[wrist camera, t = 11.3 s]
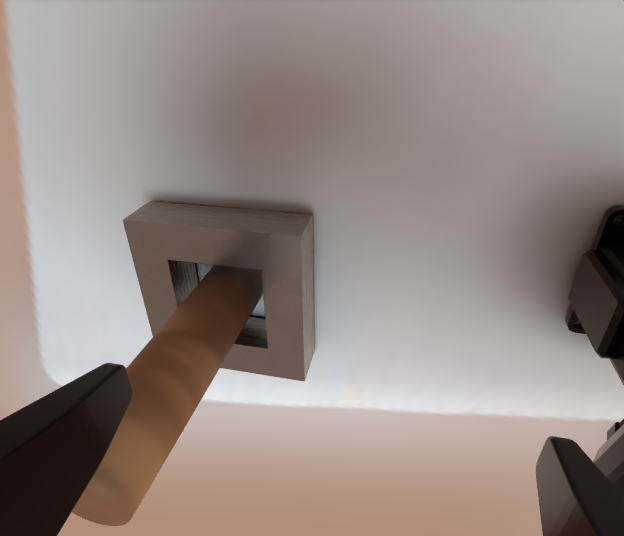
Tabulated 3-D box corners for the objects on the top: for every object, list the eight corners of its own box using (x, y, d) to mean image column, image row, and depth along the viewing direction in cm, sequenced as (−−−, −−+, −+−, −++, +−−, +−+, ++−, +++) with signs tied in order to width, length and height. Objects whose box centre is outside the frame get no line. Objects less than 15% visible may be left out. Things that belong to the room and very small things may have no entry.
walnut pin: (262, 259, 23) (118, 474, 12) (266, 306, 25) (141, 534, 14) (208, 253, 24) (25, 453, 13) (215, 300, 25) (58, 513, 14)
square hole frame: (313, 214, 21) (300, 236, 19) (314, 351, 26) (304, 381, 24) (150, 201, 23) (122, 220, 21) (178, 331, 27) (158, 357, 25)
